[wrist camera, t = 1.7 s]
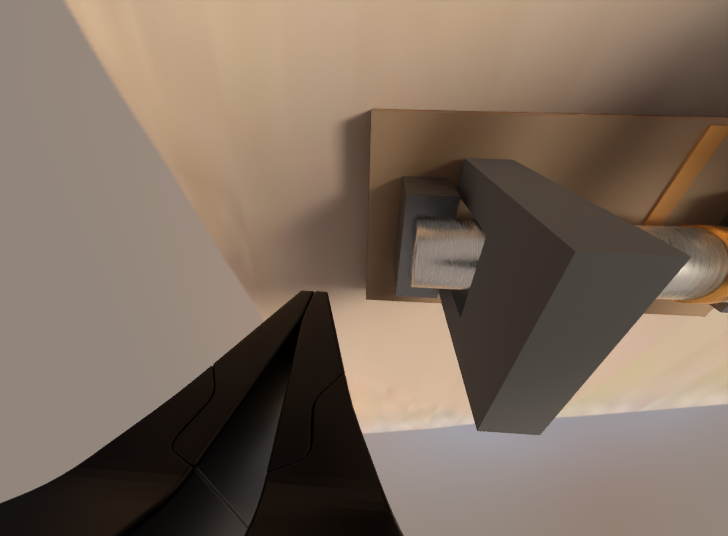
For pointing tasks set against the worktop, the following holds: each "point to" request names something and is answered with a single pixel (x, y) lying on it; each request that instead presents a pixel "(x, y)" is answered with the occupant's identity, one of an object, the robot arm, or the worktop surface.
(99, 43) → the worktop surface
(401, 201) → the pipe rig
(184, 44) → the worktop surface
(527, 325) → the slotted grey bracket
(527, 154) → the board
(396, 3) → the worktop surface
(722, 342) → the worktop surface
